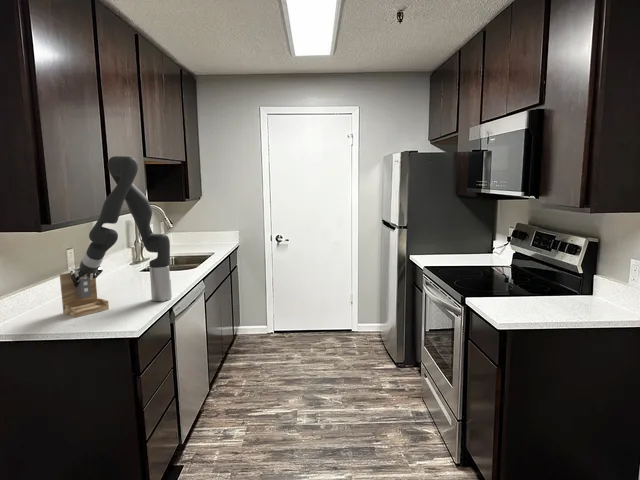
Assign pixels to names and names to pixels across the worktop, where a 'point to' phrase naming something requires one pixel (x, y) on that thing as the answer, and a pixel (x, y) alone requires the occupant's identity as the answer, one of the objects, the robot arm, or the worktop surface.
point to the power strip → (83, 287)
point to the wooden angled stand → (80, 305)
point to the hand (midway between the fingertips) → (80, 284)
